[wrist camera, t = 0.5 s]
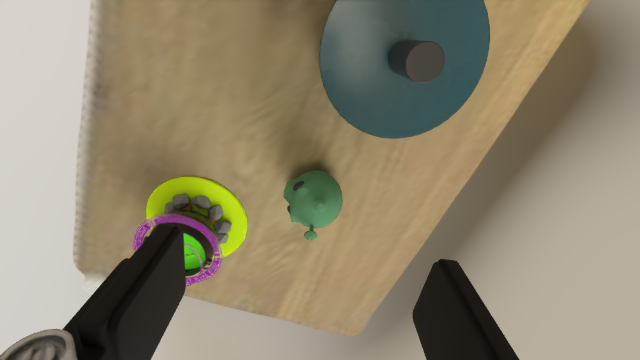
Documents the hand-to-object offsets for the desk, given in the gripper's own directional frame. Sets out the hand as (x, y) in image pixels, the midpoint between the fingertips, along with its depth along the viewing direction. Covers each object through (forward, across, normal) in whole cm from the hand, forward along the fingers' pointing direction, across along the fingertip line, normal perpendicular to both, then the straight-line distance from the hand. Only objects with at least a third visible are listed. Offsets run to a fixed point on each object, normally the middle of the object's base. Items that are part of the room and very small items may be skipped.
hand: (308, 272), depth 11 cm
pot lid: (+22, -8, -8) cm, 24 cm away
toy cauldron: (+30, +15, +20) cm, 39 cm away
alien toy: (+30, -2, +11) cm, 32 cm away
